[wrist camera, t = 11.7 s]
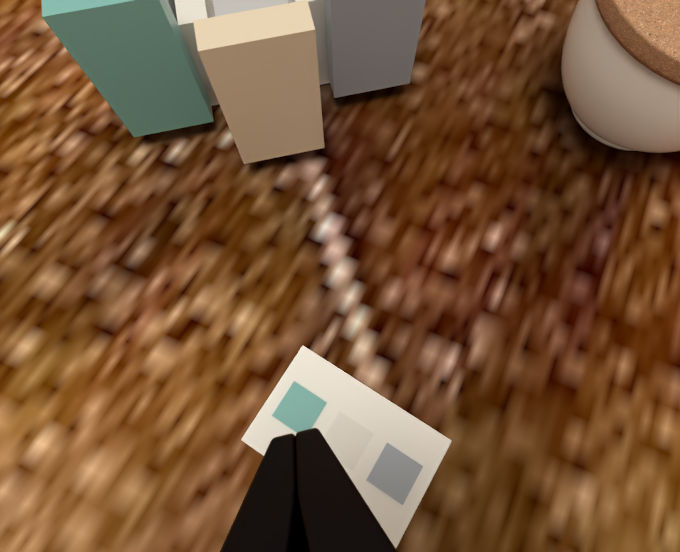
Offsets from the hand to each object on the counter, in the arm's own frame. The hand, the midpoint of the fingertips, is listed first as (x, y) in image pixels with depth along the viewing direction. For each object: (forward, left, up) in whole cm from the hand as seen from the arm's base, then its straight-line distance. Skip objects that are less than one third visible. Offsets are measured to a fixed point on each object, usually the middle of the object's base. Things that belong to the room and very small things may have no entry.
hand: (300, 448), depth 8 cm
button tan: (+12, -13, -12) cm, 21 cm away
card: (-1, 0, -13) cm, 13 cm away
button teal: (+18, -11, -12) cm, 24 cm away
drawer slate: (+10, -19, -12) cm, 24 cm away
